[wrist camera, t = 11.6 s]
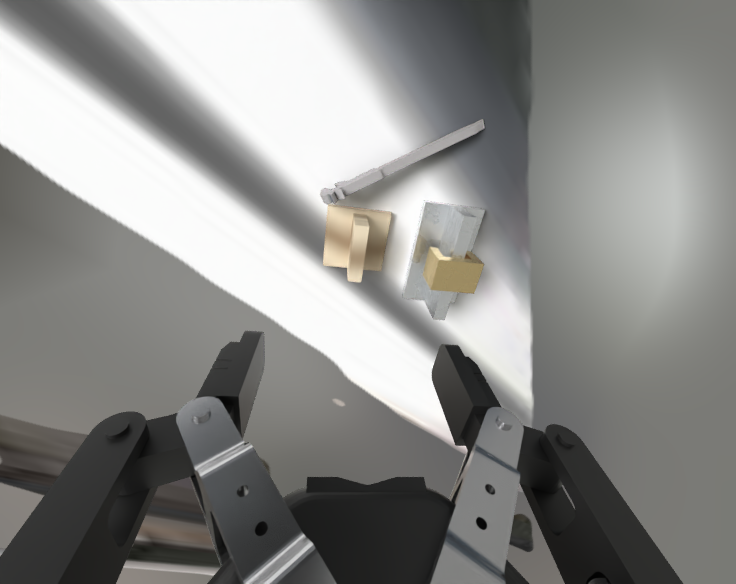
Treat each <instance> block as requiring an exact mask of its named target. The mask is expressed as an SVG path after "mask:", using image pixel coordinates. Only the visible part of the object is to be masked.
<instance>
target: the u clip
mask: <svg viewBox="0 0 736 584" xmlns="http://www.w3.org/2000/svg"><path fill="white" fill-rule="evenodd" d="M483 266H484V264H483V263H482V262H481V261H480V260H479V259H478V258H477V257H476V256H475V255H474V254H473V253H472V252H471V251H467V252H466V255H465V258H464V259H463V258H453V257H444V256H443V255H442V253H441V252H440V251H439V250H438V248H435V247H429V251H428V255H427V259H426V263H425V267H424V271H423V277H424V278H425V280H426V282H427V284H428V286H429V288H430V289H431V290H437V291H449V292H461V293H473V294H474V292H475V289H476V286H477V283H478V281H479V278H480V275H481V272H482V269H483Z"/></svg>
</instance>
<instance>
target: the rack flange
mask: <svg viewBox="0 0 736 584" xmlns="http://www.w3.org/2000/svg"><path fill="white" fill-rule="evenodd" d="M484 212H485V210H484V209H482V208H476V207H468V206H461V205H454V204H446V203H439V202H432V201H425V200H424V201H423V206H422V210H421V214H420V219H419V223H418V227H417V232H416V236H415V240H414V245H413V249H412V253H411V258H410V262H409V266H408V271H407V275H406V280H405V284H404V288H403V293H402V297H403V298H404V299H416V300H424V301H425V303H426V305H427V307H428V309H429V312H430V314H431V316H432V318H433V319H437V320H445V317H446V314H447V311H448V308H449V305H450V303H455V300H456V297H457V294H458V292H449V291H437V290H431V289H430V288H429V286H428V284H427V282H426V280H425V278H424V277H423V271H424V267H425V263H426V259H427V255H428V251H429V247H435V248H438V250H439V251H440V252H441V253H442V255H443V256H444V257H453V258H463V259H464V258H465V255H466V252H467V251H471V252H472V249H473V246H474V243H475V240H476V236H477V233H478V230H479V227H480V224H481V221H482V218H483V215H484Z"/></svg>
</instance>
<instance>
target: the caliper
mask: <svg viewBox="0 0 736 584" xmlns="http://www.w3.org/2000/svg"><path fill="white" fill-rule="evenodd" d="M484 128H485V126H484V121H483V119H482V120H479V121H477V122H475V123H473V124H470V125H468V126H466V127H463V128H461V129H459V130H457V131H454V132H452V133H450V134H448V135H446V136H444V137H442V138H440V139H438V140H435V141H433V142H431V143H429V144H427V145H425V146H423V147H421V148H419V149H416V150H414V151H412V152H410V153H408V154H406V155H404V156H402V157H399V158H397V159H395V160H393V161H391V162H389V163H387V164H385V165H382V166H380V167H378V168H376V169H371V170H369V171H368V172H366V173H363V174H361V175H359V176H357V177H355V178H354V179H352V180H350V181H343V182H338V183H335V186H336V188H334V189H332V190H329V189H326V188H324V189H322V190H321V193H320V195H321V197H322V200H323V202H324V203H326V204H330V203H332V202H333V203H334V204H335V203H336V202H337V199H338V200H341V199H345V195H349V194H351V193H354V192H356V191H358V190H360V189H362V188H364V187H366V186H368V185H370V184H372V183H374V182H377V181H379V180H381V179H383V177H385V176H387V175H390V174H392V173H394V172H396V171H398V170H400V169H402V168H404V167H406V166H409V165H411V164H413V163H415V162H417V161H419V160H421V159H423V158H425V157H428V156H430V155H432V154H434V153H436V152H438V151H440V150H442V149H444V148H447V147H449V146H451V145H453V144H455V143H457V142H459V141H461V140H463V139H466V138H468V137H470V136H472V135H474V134H476V133H478V131H480V130H483V129H484Z"/></svg>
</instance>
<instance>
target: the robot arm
mask: <svg viewBox="0 0 736 584" xmlns="http://www.w3.org/2000/svg"><path fill="white" fill-rule="evenodd" d="M264 361H265V351H264V332H257V331H245V332H244V334H243V336H242V338H241V341H240V342H230V343H229V344H227V345H226V346H225V347H224V348H223V349H221V351H220V353H219V355H218V357H217V359H216V361H215V363H214V364H213V366H212V369H211V370H210V373H209V374H208V376H207V378H206V380H205V382H204V384H203V386H202V388H201V390H200V391H199V393H198V395H197V397H196V399H194V400H192V401H190V402H188V403H186V404H185V405H184V406H183V407H182V408H181V409H180V410H179V412H178V413H175V414H173V415H169V416H165V417H161V418H156V419H151V420H148V421H146V419H145V417H144V416H143V415H142V414H140V413H138V412H123V413H119V414H116V415H113V416H111V417H109V418H107V419H105V420H103V421H102V422H100V423H99V424H98V425H97V426H96V427H95V428H94V429H93V430H92V431H91V432H90V434H89V435H88V436H87V438H86V439H85V441H84V442H83V443H82V445H81V446H80V448H79V449H78V450H77V452H76V453H75V454H74V456H73V457H72V459H71V460H70V461H69V463H68V464H67V465H66V467H65V468H64V470H63V471H62V472H61V474H60V475H59V476H58V478H57V479H56V481H55V482H54V483H53V485H52V486H51V487H50V489H49V490H48V492H47V493H46V494H45V496H44V497H43V498H42V500H41V502H40V503H39V504H38V506H37V507H36V508H35V510H34V511H33V512H32V514H31V515H30V516H29V518H28V519H27V521H26V522H25V523H24V525H23V526H22V528H21V529H20V530H19V532H18V533H17V534H16V536H15V537H14V538H13V540H12V541H11V543H10V544H9V545H8V547H7V548H6V549H5V551H4V552H3V554H2V555H1V556H0V584H116V582H117V580H118V577H119V575H120V573H121V571H122V568H123V566H124V564H125V561H126V559H127V557H128V554H129V552H130V550H131V548H132V545H133V543H134V541H135V538H136V536H137V534H138V531H139V529H140V527H141V525H142V522H143V520H144V518H145V515H146V513H147V511H148V508H149V506H150V504H151V502H152V499H153V497H154V495H155V492H156V490H157V488H158V486H161V485H164V484H167V483H170V482H174V481H177V480H180V479H184V478H187V477H190V480H191V483H192V485H193V488H194V491H195V493H196V496H197V499H198V501H199V504H200V507H201V509H202V512H203V515H204V517H205V520H206V523H207V526H208V529H209V533H210V536H211V539H212V542H213V545H214V548H215V551H216V553H217V556H218V559H219V561H220V564H221V568H220V569H219V570H218V572H217V573H216V574H215V575H214V576H213V578H212V579H211V580H210V581H209V582H208V583H207V584H529V583H528V582H527V581H526V580H525V579H524V578H523V576H521V574H520V573H519V572H518V571H517V570H516V569H515V568H514V567H513V566H512V565H511V564H510V563H509V562H508V560H507V559H506V558H507V552H508V546H509V541H510V535H511V529H512V523H513V517H514V511H515V505H516V499H517V493H518V488H519V483H520V485H521V487H522V489H523V491H524V493H525V496H526V498H527V500H528V502H529V505H530V507H531V509H532V511H533V514H534V515H535V518H536V520H537V522H538V525H539V527H540V529H541V531H542V534H543V536H544V538H545V540H546V543H547V545H548V547H549V549H550V551H551V554H552V556H553V558H554V560H555V562H556V564H557V567H558V569H559V571H560V574H561V576H562V578H563V580H564V583H565V584H683V583H682V581H681V580H680V579H679V577H678V576H677V574H676V573H675V571H674V570H673V569H672V567H671V566H670V564H669V563H668V561H667V560H666V559H665V557H664V556H663V554H662V553H661V552H660V550H659V549H658V547H657V546H656V545H655V543H654V542H653V540H652V539H651V537H650V536H649V535H648V533H647V532H646V530H645V529H644V528H643V526H642V525H641V524H640V522H639V520H638V519H637V518H636V516H635V515H634V513H633V512H632V511H631V509H630V508H629V506H628V505H627V503H626V502H625V501H624V499H623V498H622V496H621V495H620V494H619V492H618V491H617V489H616V488H615V487H614V485H613V484H612V482H611V481H610V480H609V478H608V477H607V475H606V474H605V473H604V471H603V470H602V468H601V467H600V466H599V464H598V463H597V461H596V460H595V458H594V457H593V455H592V454H591V453H590V451H589V450H588V448H587V447H586V446H585V444H584V443H583V441H582V440H581V439H580V438H579V437H578V436H577V435H576V434H575V433H574V432H572V431H571V430H569V429H567V428H565V427H563V426H560V425H555V424H552V425H549V426H547V428H546V429H545V431H544V432H542V431H539V430H536V429H533V428H530V427H526V426H523V425H522V423H521V421H520V420H519V419H518V417H517V416H516V415H514V414H513V413H512V412H510V411H508V410H506V409H504V408H502V407H501V406H500V404H499V402H498V400H497V399H496V397H495V395H494V393H493V392H492V390H491V388H490V386H489V385H488V383H486V379H485V378H484V376H483V375H482V372H481V371H480V369H479V367H478V365H477V364H476V363H475V362H474V361H473V360H471V359H470V358H469V357H465V356H464V354H463V353H462V351H461V349H460V347H459V346H458V345H445V344H442V345H441V346H440V348H439V351H438V354H437V357H436V360H435V363H434V366H433V369H432V381H433V384H434V387H435V390H436V392H437V395H438V398H439V401H440V404H441V406H442V409H443V412H444V415H445V417H446V420H447V423H448V426H449V428H450V431H451V434H452V437H453V439H454V442H455V445H457V446H466V447H467V450H468V451H467V454H466V456H465V458H464V461H463V464H462V467H461V469H460V472H459V475H458V477H457V480H456V483H455V485H454V488H453V491H452V493H451V496H450V498H449V499H448V498H446V497H445V496H444V495H442V494H440V493H439V492H437V491H434V490H432V489H430V488H427V487H426V485H425V481H424V477H395V478H392V479H388V480H385V481H381V482H379V483H375V484H371V485H364V484H360V483H357V482H353V481H349V480H346V479H342V478H339V477H308V478H307V487H305V488H301V489H298V490H296V491H294V492H292V493H290V494H288V495H287V496H285V497H284V498H282V496H281V495H280V493H279V491H278V489H277V487H276V486H275V484H274V482H273V480H272V479H271V477H270V475H269V473H268V472H267V470H266V468H265V467H264V465H263V463H262V461H261V460H260V458H259V456H258V455H257V453H256V451H255V449H254V448H253V446H252V445H251V444H250V443H249V442H248V443H245V442H244V441H243V436H244V433H245V430H246V427H247V423H248V420H249V417H250V414H251V410H252V407H253V404H254V400H255V397H256V394H257V390H258V387H259V384H260V381H261V377H262V374H263V370H264ZM562 485H564V487H565V489H566V491H567V492H568V494H569V496H570V498H571V499H572V501H573V503H574V506H575V509H574V508H573V506H572V504H571V502H570V500H569V499H568V497H567V495H566V493H565V492H564V490H563V488H562Z"/></svg>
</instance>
